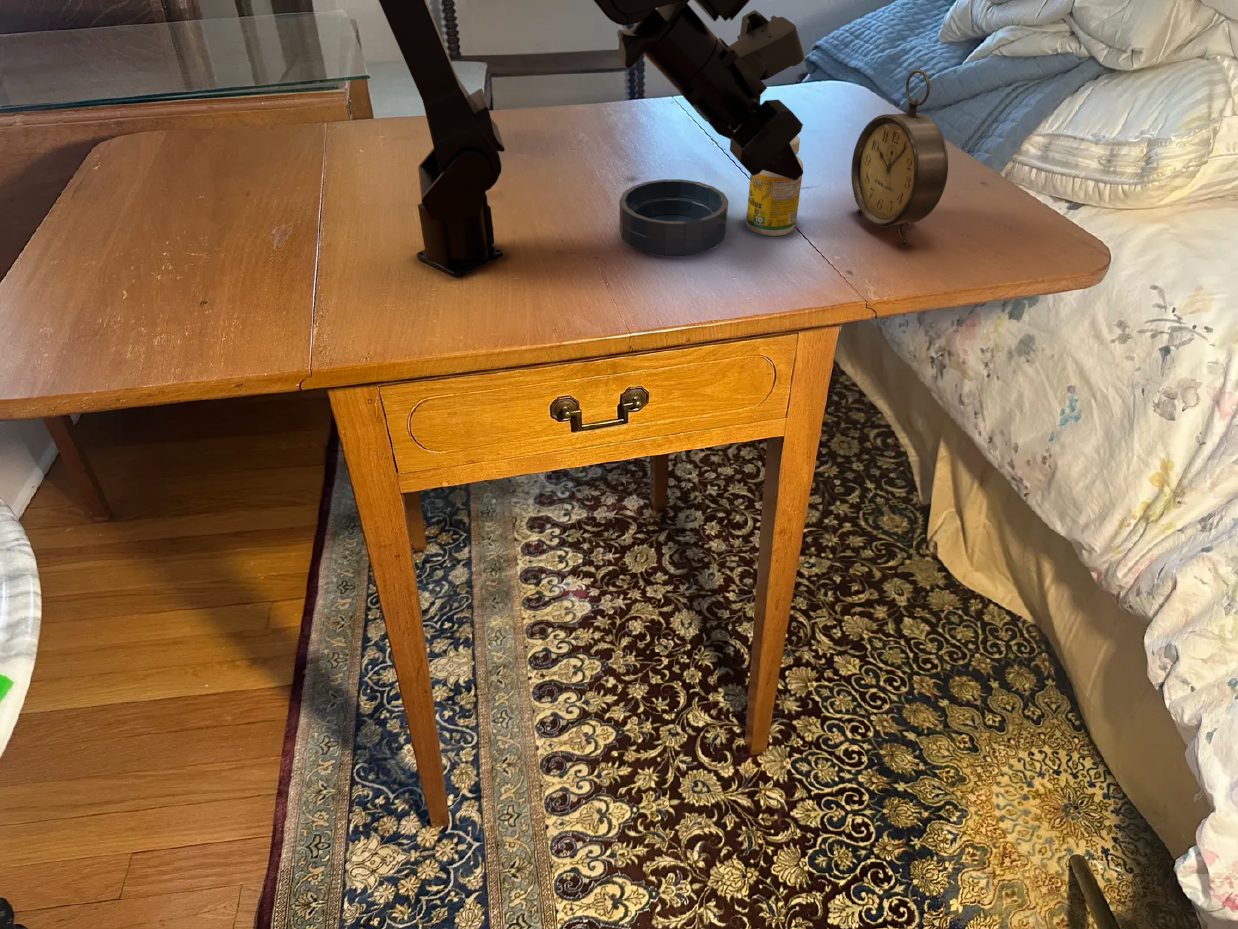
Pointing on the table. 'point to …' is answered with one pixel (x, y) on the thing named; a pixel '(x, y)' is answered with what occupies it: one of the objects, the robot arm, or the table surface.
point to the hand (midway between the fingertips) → (789, 165)
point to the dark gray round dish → (673, 217)
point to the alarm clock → (899, 167)
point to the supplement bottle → (774, 201)
